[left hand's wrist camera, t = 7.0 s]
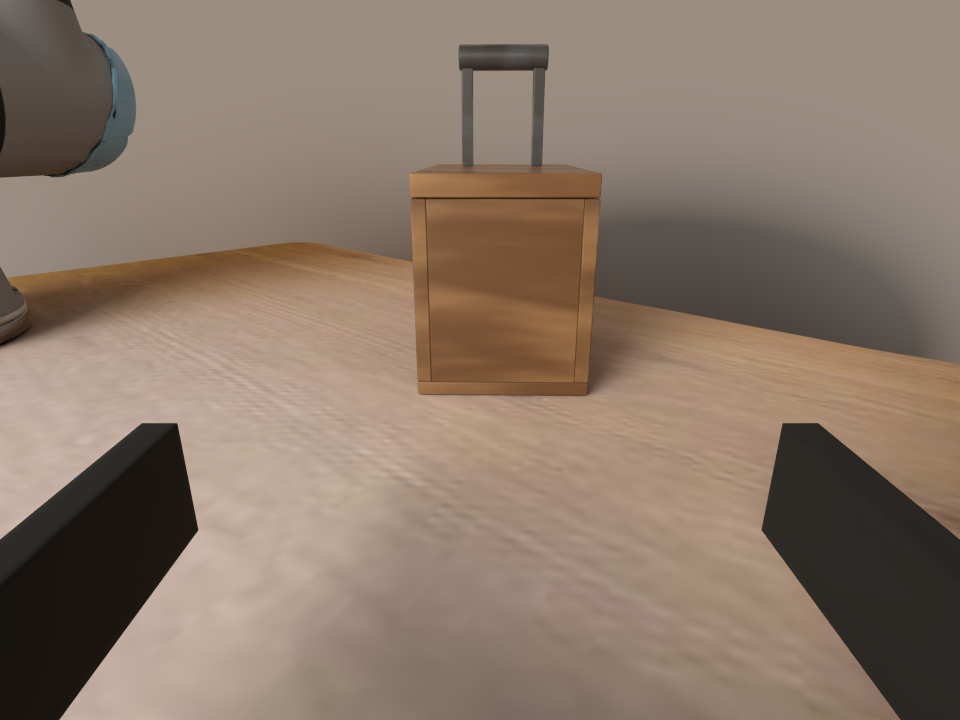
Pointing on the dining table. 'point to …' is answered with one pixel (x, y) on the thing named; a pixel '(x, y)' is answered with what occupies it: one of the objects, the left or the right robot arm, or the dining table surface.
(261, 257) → the dining table surface
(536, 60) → the lid
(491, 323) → the chest
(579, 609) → the dining table surface
